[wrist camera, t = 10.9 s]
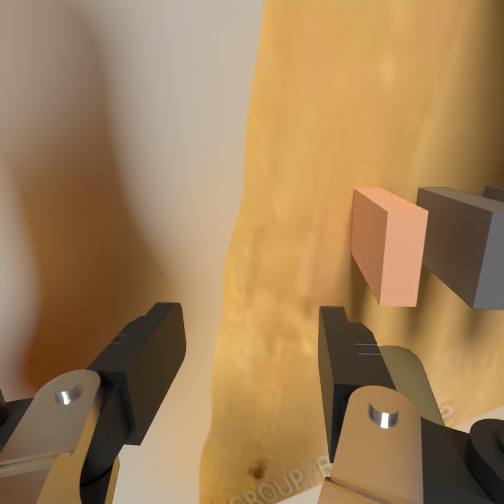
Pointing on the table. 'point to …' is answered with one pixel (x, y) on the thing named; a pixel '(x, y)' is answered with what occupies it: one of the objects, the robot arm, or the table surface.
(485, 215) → the domino
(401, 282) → the domino
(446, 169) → the table surface
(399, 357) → the olive green pawn
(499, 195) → the domino
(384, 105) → the table surface
